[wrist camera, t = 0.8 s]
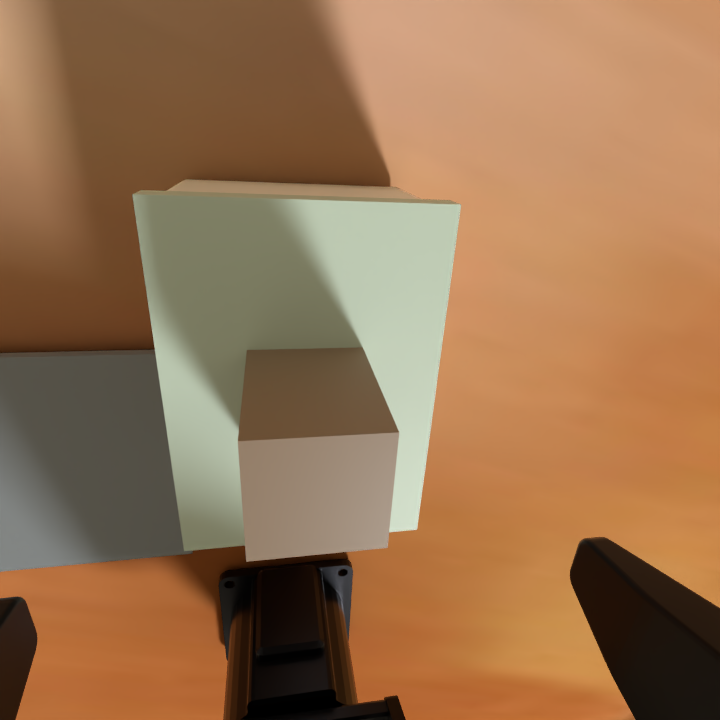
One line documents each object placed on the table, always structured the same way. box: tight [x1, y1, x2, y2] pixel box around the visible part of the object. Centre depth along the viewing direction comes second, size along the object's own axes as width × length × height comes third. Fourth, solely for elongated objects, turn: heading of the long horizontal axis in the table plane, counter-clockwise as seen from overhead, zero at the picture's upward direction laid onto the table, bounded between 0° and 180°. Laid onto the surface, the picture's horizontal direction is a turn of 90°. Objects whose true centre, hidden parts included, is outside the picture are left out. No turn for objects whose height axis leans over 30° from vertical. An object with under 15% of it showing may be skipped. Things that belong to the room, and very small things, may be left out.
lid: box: [132, 190, 461, 562], centre depth 12 cm, size 10×7×6 cm
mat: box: [0, 350, 193, 572], centre depth 19 cm, size 10×8×1 cm
